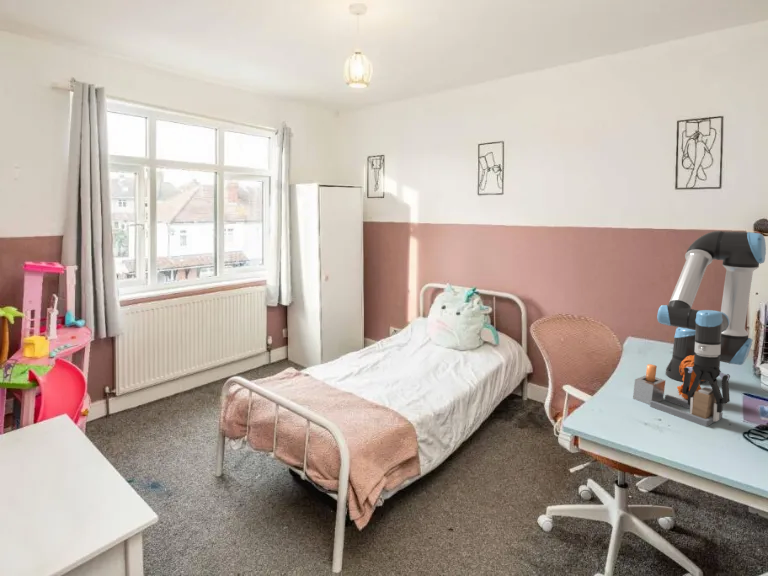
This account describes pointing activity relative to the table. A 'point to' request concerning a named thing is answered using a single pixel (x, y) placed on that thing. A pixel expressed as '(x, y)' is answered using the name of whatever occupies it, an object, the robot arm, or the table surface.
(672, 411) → the guide channel
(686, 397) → the orange figurine
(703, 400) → the carriage
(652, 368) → the orange rounded peg
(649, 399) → the grey block with hole
